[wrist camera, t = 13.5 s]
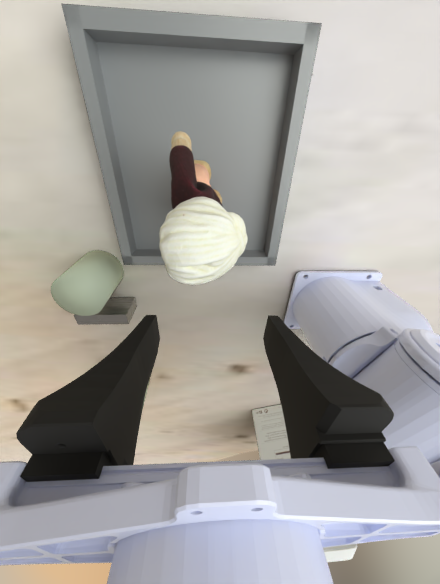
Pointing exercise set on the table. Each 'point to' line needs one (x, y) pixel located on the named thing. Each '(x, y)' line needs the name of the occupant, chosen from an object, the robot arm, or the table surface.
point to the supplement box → (277, 447)
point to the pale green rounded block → (88, 283)
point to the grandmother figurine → (197, 222)
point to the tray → (193, 114)
